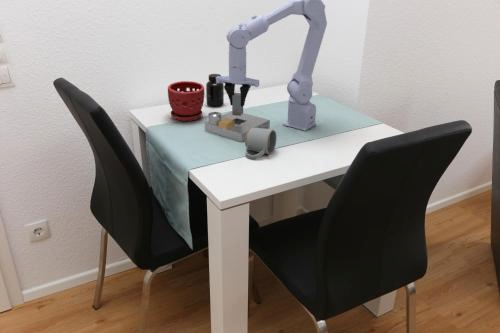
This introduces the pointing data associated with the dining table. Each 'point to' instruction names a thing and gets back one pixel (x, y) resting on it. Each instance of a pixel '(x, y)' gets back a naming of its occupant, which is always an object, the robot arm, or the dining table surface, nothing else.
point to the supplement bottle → (214, 92)
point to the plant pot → (186, 100)
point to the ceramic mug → (260, 141)
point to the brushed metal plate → (234, 125)
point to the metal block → (236, 104)
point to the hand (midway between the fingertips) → (237, 105)
